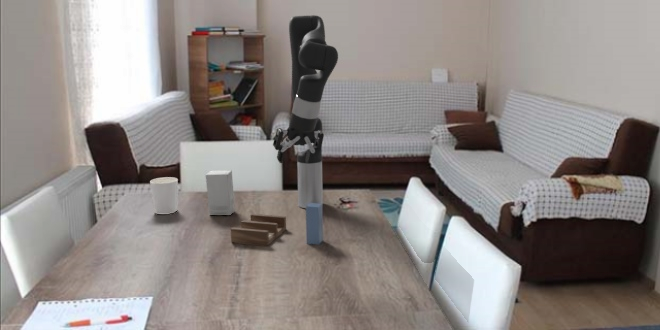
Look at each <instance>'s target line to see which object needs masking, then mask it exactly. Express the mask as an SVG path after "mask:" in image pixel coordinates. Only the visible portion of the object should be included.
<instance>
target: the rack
mask: <svg viewBox="0 0 660 330" xmlns="http://www.w3.org/2000/svg"><path fill="white" fill-rule="evenodd" d="M286 230H287V216H285V215H283V216H282V215H273V214H259V213H251V214H250V220H243V219H242V220H241V222H240V227H232V228H230V242H236V243H235V244H240V243H243V245H250V244H252V245H251V246H260V245H261V246H262V247H268V246H269V245H270V244H272V242H274V241H275V240H276V239H277V238H278V237H279V236H280V235H281V234H282V233H284V232H285V231H286Z"/></svg>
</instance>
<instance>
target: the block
mask: <svg viewBox="0 0 660 330" xmlns="http://www.w3.org/2000/svg"><path fill="white" fill-rule="evenodd" d="M305 221H306V222H305V224H306V225H305V226H306V227H305V229H306V231H305V232H306V244H308V245H318V246H319V245H321V243H322V242H323V241H324V240H323V239H324V238H323V237H324V235H323V234H324V230H323V228H324V227H323V226H324V224H323V223H324V220H323V205H322V204H319V203H309V204H308V205H307V206H306V208H305Z"/></svg>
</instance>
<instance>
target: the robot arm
mask: <svg viewBox="0 0 660 330" xmlns="http://www.w3.org/2000/svg"><path fill="white" fill-rule="evenodd" d="M288 34H289V43H290V44H289V45H290V55H291V92H292V109H291V115H290V118H289V119H290V120H289V124H288V128H287V129H282V128H281V127H278V128H277V129H276V132H275V136H274V139H273V144H272V146H273V147H274V149H275V151H277V156H276V159H277V161H278V162H279V164H283V163H284V159H285V154H286V152H285V151H286V150H288V149H289V148H291V147H292V146H293V145H294V146H303V147H305V146H307V149H305V150H302V151H300V152H298V153H297V156H296V157H297V158H296V160H297V161H296V162H297V163H296V165H297V202H298V203H297V205H298V206H297V207H298V208H303V209H306V206H307V205H308V204H309V203H319V204H322V206H323V204H324V203H323V199H324V197H323V151H322V148H323V147H322V146H323V141H324V136H325V134H324V133H323V123H322V120H321V119H320V117H319V115H320V110H321V103H322V97H323V94H324V89H325V86H326V84H327V82H328V80H329V78H330V76H331V74H332V73H333V71H334V69H335V67H336V66H337V65H338V64H337V63H338V60H339V52H338V50H337V48H336V47H335V46H332V45H328V44H327V42H326V31H325V23H324V20H323V18H322V17H321V16H320V15H314V14H313V15H295V16H292V17H291V18H290V20H289V23H288ZM317 71H318V72H317ZM283 138H284V139H283Z"/></svg>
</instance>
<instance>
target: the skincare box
mask: <svg viewBox="0 0 660 330" xmlns="http://www.w3.org/2000/svg"><path fill="white" fill-rule="evenodd" d="M205 182H206V191H207V192H206V194H207V205H208V214H210V215H231V214H232V213H235V211H236V209H235V194H234V192H235V191H234V182H233V171H232V170H210V171H209V172H208V173H206V174H205ZM231 216H232V215H231Z"/></svg>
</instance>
